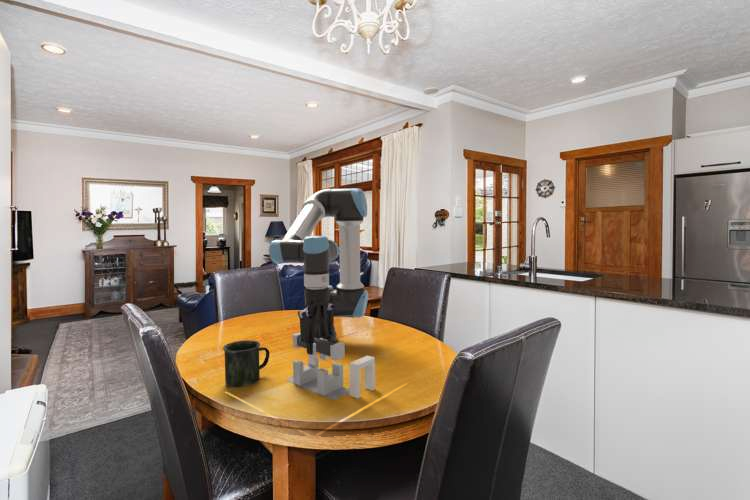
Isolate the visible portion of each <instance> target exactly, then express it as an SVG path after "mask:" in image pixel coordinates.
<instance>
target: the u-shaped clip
mask: <svg viewBox="0 0 750 500" xmlns="http://www.w3.org/2000/svg"><path fill="white" fill-rule="evenodd" d="M361 369H364V389H366V390H369V391H374V390H375V389H376V357H374V356H370V355H365V356H363V357H361V358H358V359H356V360H353V361H351V362H349V389H350V392H349V396H350V397H353V398H354V399H359V398H361V396H362V395H361V394H362V393H361V392H362V389H361V385H362V383H361V381H362V378H361V377H362V376H361V375H362V373H361V371H362V370H361Z"/></svg>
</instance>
